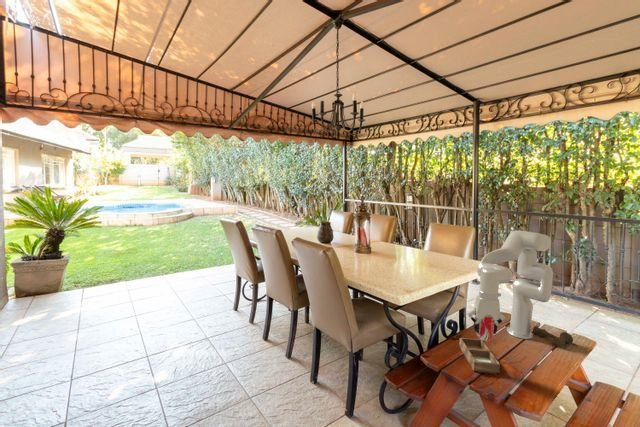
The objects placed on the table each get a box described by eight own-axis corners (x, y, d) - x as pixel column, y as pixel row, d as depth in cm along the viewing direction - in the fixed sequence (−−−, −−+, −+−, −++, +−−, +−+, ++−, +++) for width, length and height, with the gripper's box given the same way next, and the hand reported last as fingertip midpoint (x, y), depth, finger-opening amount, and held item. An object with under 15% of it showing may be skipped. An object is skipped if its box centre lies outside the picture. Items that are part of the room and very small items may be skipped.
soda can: (472, 334, 146) (474, 310, 144) (487, 334, 146) (489, 310, 145) (481, 342, 139) (483, 317, 137) (496, 342, 139) (498, 317, 138)
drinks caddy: (458, 345, 160) (459, 337, 160) (481, 347, 159) (481, 339, 158) (473, 371, 139) (474, 362, 139) (499, 373, 138) (500, 364, 138)
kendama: (537, 332, 177) (580, 348, 160) (529, 337, 172) (573, 354, 155) (538, 322, 176) (581, 337, 159) (530, 326, 171) (574, 343, 154)
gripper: (504, 293, 142) (501, 329, 145) (465, 290, 144) (462, 326, 147) (512, 299, 135) (508, 337, 137) (471, 297, 137) (467, 334, 139)
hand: (484, 331), depth 142 cm, fingers closed on soda can, 7 cm apart
